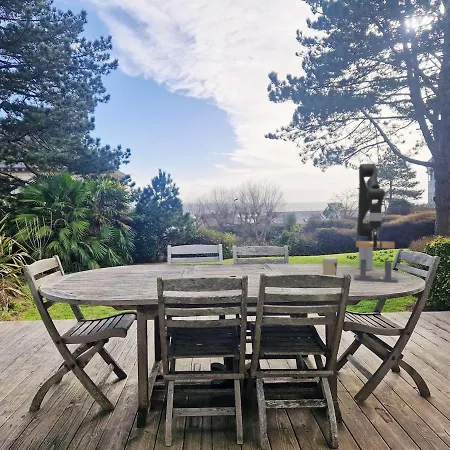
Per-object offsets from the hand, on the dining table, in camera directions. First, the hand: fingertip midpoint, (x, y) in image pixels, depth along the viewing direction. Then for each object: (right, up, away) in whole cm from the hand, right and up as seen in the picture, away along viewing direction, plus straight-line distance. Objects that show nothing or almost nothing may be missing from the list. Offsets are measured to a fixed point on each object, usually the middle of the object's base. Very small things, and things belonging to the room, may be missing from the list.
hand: (374, 246), depth 242 cm
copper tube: (0, +2, 0) cm, 2 cm away
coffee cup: (-29, -19, 0) cm, 35 cm away
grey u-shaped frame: (-4, -20, -12) cm, 23 cm away
